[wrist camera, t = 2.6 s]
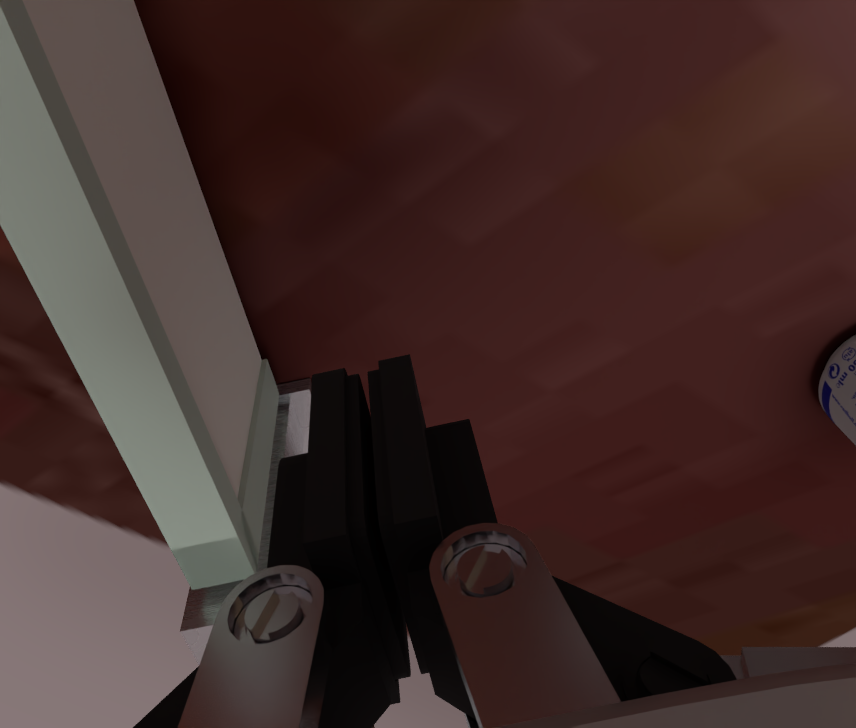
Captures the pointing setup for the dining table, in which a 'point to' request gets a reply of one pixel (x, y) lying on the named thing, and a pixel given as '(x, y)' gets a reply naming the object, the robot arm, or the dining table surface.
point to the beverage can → (841, 388)
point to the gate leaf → (135, 274)
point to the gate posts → (286, 443)
